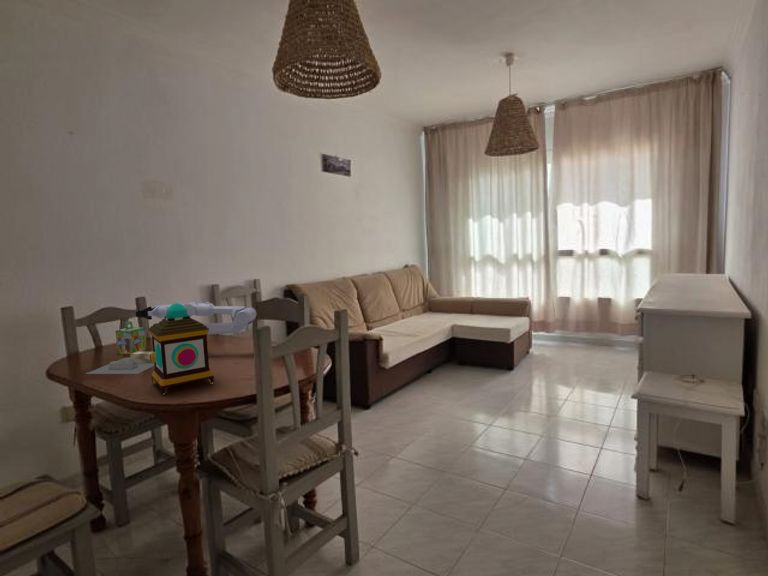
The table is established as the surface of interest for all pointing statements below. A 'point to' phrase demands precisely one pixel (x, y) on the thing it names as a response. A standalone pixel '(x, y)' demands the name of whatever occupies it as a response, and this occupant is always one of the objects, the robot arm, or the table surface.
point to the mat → (137, 370)
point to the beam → (141, 357)
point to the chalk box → (130, 339)
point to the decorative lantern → (179, 349)
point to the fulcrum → (123, 365)
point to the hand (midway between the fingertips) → (141, 313)
